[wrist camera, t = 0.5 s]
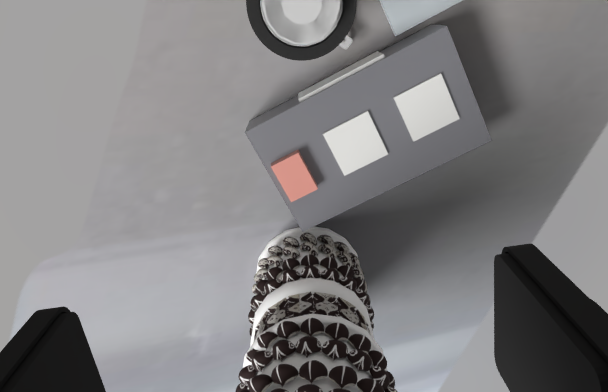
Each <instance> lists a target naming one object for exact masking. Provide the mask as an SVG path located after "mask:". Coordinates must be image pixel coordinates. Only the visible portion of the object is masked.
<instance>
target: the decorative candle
mask: <svg viewBox="0 0 608 392" xmlns="http://www.w3.org/2000/svg"><path fill="white" fill-rule="evenodd" d="M254 281H255V282H256V283H257V284H254V285H253V287H252V292H253V293H254V294H255V296H254V297H253V298H252V300H251V308H252V309H251V311H250V312H249V316H248V318H249V321H250V323H251V324H252V326H251V328H250V335H251V344H250V345H251V347H250V348H249V350H248V351H247V353H246V354H245V357H244V364H243V369H242V370H241V371H240V373H239V380H240V381H241V383H240V384H239V385H238V386H237V388H236V392H384V391H385V392H397V391H396V389H394V386H395V380H394V377H393V376H392V374H391V373H390V372H388V371H387V369H386V367H387V361H386V358H385V356H384V355H383V351H382V349H381V348H380V346H379V345H378V344H377V343H376V341H375V340H374V336H373V332H372V331H373V328H374V324H373V322H372V319H373V317H374V311H373V309H372V308H371V307H370V306H369V305H370V298H369V296H368V294H367V284H366V281H365V280H364V273H363V271H362V269H361V268H360V262H359V259H358V255H357V253H356V251H355V250H354V249H353V247H352V246H351V245H350V244H349V242H348V241H347V240H346V238H344V237H342V236H341V235H339V234H337V233H335V232H333V231H332V230H330V229H328V228H322V227H315V226H314V227H312V228H310V229H308V230H305V231H303V232H302V230H301V229H300V227H297V228H293V229H288V230H285V231H284V232H282V233H281V234H279V235H278V236H276V237H275V238H273V239H272V240H270V241H269V243H268V244H267V246H266V247H265V249H264V250H263V252H262V253H261V255H260V256H259V259H258V266H257V273H256V274H255V276H254Z"/></svg>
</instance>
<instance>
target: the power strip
mask: <svg viewBox="0 0 608 392" xmlns="http://www.w3.org/2000/svg"><path fill="white" fill-rule="evenodd" d="M245 134H246V135H247V137H248V139H249V140H250V142H251V144H252V146H253V147H254V149H255V151H256V153H257V154H258V156H259V158H260V159H261V161H262V163H263V165H264V166H265V168H266V170H267V172H268V173H269V175H270V177H271V178H272V180H273V182H274V184H275V185H276V187H277V189H278V191H279V192H280V194H281V196H282V197H283V199H284V201H285V203H286V204H287V206H288V208H289V210H290V211H291V213H292V215H293V216H294V218H295V220H296V222H297V223H298V225H299V227H300V229H301V230H302V232H303V231H305V230H308V229H310V228H312V227H314V226H316V225H318V224H320V223H322V222H324V221H326V220H328V219H330V218H332V217H334V216H337V215H339V214H341V213H343V212H345V211H347V210H349V209H351V208H353V207H355V206H357V205H359V204H361V203H363V202H366V201H368V200H370V199H372V198H374V197H376V196H378V195H380V194H382V193H384V192H386V191H388V190H390V189H392V188H395V187H397V186H399V185H401V184H403V183H405V182H407V181H409V180H411V179H413V178H415V177H417V176H419V175H421V174H424V173H426V172H428V171H430V170H432V169H434V168H436V167H438V166H440V165H442V164H444V163H446V162H448V161H450V160H452V159H455V158H457V157H459V156H461V155H463V154H465V153H467V152H469V151H471V150H473V149H475V148H477V147H479V146H481V145H484V144H486V143H488V142H490V141H492V139H491V137H490V134H489V132H488V129H487V127H486V124H485V122H484V119H483V116H482V114H481V111H480V109H479V106H478V104H477V101H476V99H475V96H474V93H473V91H472V88H471V86H470V83H469V81H468V78H467V76H466V73H465V70H464V68H463V65H462V63H461V60H460V58H459V55H458V53H457V50H456V47H455V45H454V42H453V40H452V37H451V35H450V32H449V30H448V27H447V26H445V25H434V24H431V25H429V26H427V27H426V28H424V29H422V30H420V31H418V32H416V33H414V34H412V35H410V36H409V37H407V38H405V39H403V40H401V41H399V42H397V43H395V44H394V45H392V46H390V47H388V48H386V49H384V50H382V51H380V52H378V51H376V52H375V53H373V54H371V55H369V56H367V57H365V58H363V59H361V60H360V61H358V62H356V63H354V64H352V65H350V66H348V67H346V68H345V69H343V70H341V71H339V72H337V73H335V74H333V75H331V76H330V77H328V78H326V79H324V80H322V81H320V82H318V83H316V84H314V85H313V86H311V87H309V88H307V89H305V90H303V91H301V92H299V93H298V96H296V97H294V98H292V99H290V100H288V101H286V102H284V103H282V104H281V105H279V106H277V107H275V108H273V109H271V110H269V111H267V112H266V113H264V114H262V115H260V116H258V117H256V118H254V119H252V120H251V121H249V124H248V126H247V128H246V131H245Z"/></svg>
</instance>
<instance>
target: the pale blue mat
mask: <svg viewBox="0 0 608 392" xmlns="http://www.w3.org/2000/svg"><path fill="white" fill-rule="evenodd" d="M379 1H380V3H381V6H382V8H383V10H384V13H385V15H386V17H387V20H388V22H389V24H390V27H391V29H392V31H393V34H394V36H397V35H399V34H401V33H403V32H405V31H406V30H408V29H410V28H412V27H414V26H416V25H418V24H420V23H421V22H423V21H425V20H427V19H429V18H431V17H433V16H435V15H436V14H438V13H440V12H442V11H444V10H446V9H448V8H450V7H451V6H453V5H455V4H457V3H459V2H461V1H463V0H379Z"/></svg>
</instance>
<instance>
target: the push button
mask: <svg viewBox="0 0 608 392" xmlns="http://www.w3.org/2000/svg"><path fill="white" fill-rule="evenodd" d="M356 3H357V0H246V5H247V13H248V18H249V21H250V24H251V26H252V28H253V30H254V32H255V34H256V35H257V37H258V38H259V40H260V41H261V42H262V43H263V44H264V45H265V46H266V47H267V48H268V49H270V50H271V51H272V52H274V53H276V54H277V55H280V56H282V57H284V58H287V59H292V60H311V59H316V58H319V57H321V56H324V55H326V54H327V53H329V52H331V51H332V50H333V49H335V48H336V47H337V46H338V45H340V46H341V47H342V48H343V49H347V48H348V47H349V45H350V44H351V43H352V39H351V38H350V37H349V36H348V35H347V34H348V32H349V30H350V28H351V26H352V24H353V21H354V17H355V13H356ZM261 11H262V12H261ZM262 15H263V16H262ZM267 26H268V27H267ZM268 28H269V29H270V30H269V29H268ZM271 32H272V33H273V34H272V33H271ZM274 35H275V36H276V37H275V36H274ZM344 38H345V41H344V42H343V43H341V42H342V41H343V40H344ZM279 39H280V40H279ZM281 40H282V41H281ZM283 41H284V42H283ZM315 43H316V44H315ZM293 45H294V46H293Z"/></svg>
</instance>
